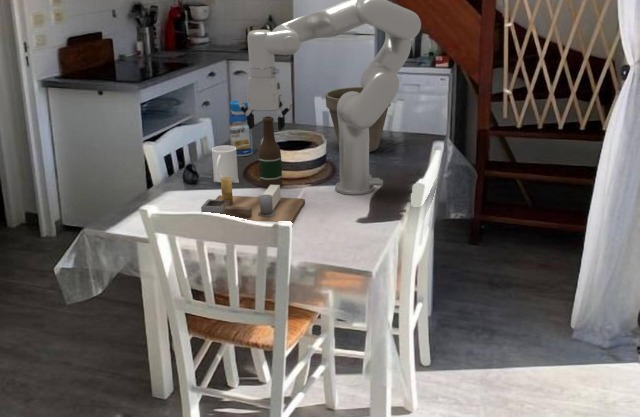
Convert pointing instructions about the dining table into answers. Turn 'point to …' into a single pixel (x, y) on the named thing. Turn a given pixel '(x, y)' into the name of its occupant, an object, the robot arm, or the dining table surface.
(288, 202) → the board
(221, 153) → the mug
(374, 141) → the plant pot
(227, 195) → the pin
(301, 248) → the dining table surface
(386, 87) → the robot arm
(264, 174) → the beer bottle
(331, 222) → the dining table surface
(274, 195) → the handle
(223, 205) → the collar
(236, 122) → the beverage bottle
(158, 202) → the dining table surface
